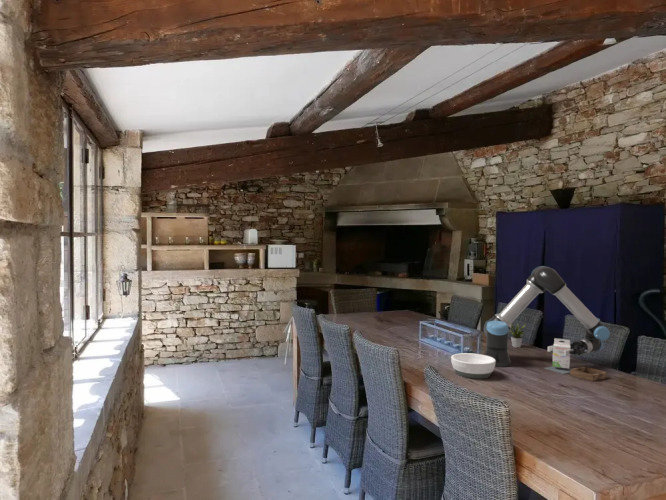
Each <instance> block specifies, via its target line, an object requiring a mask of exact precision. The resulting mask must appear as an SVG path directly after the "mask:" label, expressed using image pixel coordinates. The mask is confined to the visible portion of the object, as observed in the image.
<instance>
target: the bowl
mask: <svg viewBox="0 0 666 500" xmlns="http://www.w3.org/2000/svg"><path fill="white" fill-rule="evenodd" d="M450 360H451V364H452V365H451V366H452V367H453V370H454V371H455V373H456V375H457V376H460V377H463V378H466V379H467V378H468V379H480V380H481V379H486V378H489V377H490V376H491V374H492V373H493V372H494V369H495V367H496V366H495V362H496V360H495V359H494V358H492V357H490V356H486V355H484V354H481V353H471V352H469V353H468V352H465V353H464V352H462V353H455V354H452V355H451V356H450Z"/></svg>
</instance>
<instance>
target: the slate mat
mask: <svg viewBox="0 0 666 500" xmlns="http://www.w3.org/2000/svg"><path fill="white" fill-rule="evenodd" d="M543 369H545V370H546V371H547V370H548V371H551V372H554V373H558V374H562V375H568V374H570V369H571V368H569V369H568V368H561V367H554V366H553V365H552V366H547V367H544V368H543Z"/></svg>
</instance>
